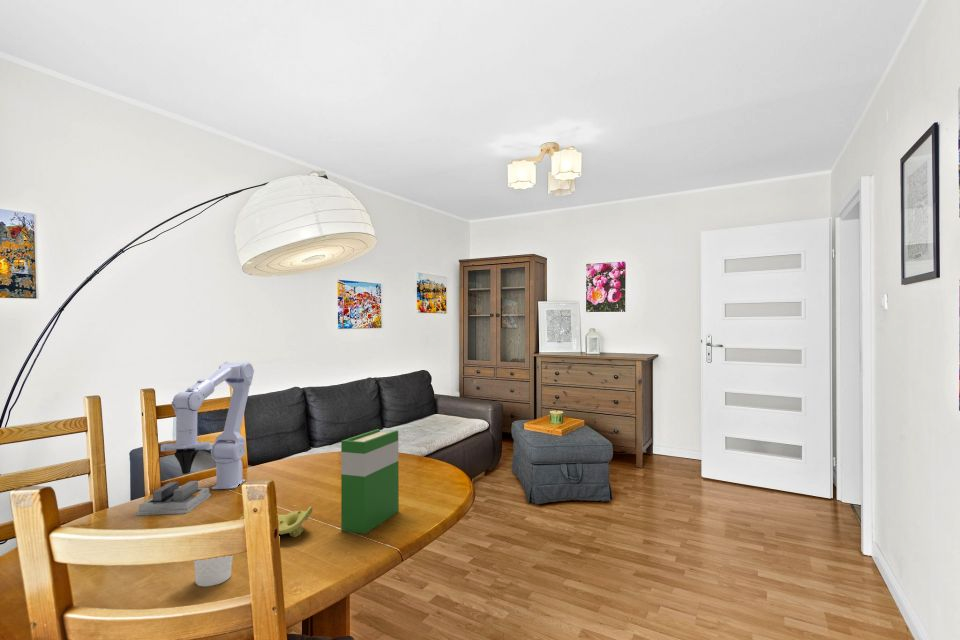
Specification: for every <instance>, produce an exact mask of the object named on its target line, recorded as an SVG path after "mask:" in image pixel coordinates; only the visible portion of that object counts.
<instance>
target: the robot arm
mask: <svg viewBox="0 0 960 640" xmlns="http://www.w3.org/2000/svg"><path fill="white" fill-rule="evenodd" d="M218 367H219V368H218V369H217V370H216V371H215V372H214V373H213V374H211V375H210V376H209V377H208V378H207V379H205V378H203V379H198V380H197V381H196V383H194V384H193V385H192V386H189V387H188V388H187V389H186V390H185V391H179V392H177V393H176V394H175V395H174V396H173V398H172V401H171V407H172V408H173V410H174V415H175V416H176V419H175V421H176V424H175V431H176V432H175V434H176V435H175V442H174V443H164V444H160V452H167V451H168V452H170V451H175V452H174V455H173V456H174V457H175V458H176V460H177V461H178V463H179V466H180V469H181V474H182V475H187V474H189V473H191V470H192V465H193V463H194V460H195V458H196V456H197V454H198V453H199V450H206V451H210V456H211V457H212V459H213V460H214V462H215V463H216V478H215V479H216V482H215V483H216V484H215V485H213V486H212V487H211V490H227V489H229V490H231V489H236V488H238V487H239V486H240V485H241V484H243V483H244V482H246V479H244V478H243V462H242V458H243V457H244V455H245V453H246V439H245V437H244V436H243V435H242V434H241V428H242V424H243V420H244V416H245V410H246V405H247V401H248V397H249V394H250V393H249V392H250V388H251V387H250V386H252V382H253V377H254V374H255V369H254V367H253V365H252V363H251V362H250V361H245V362H243V361H239V362H238V361H236V362H235V361H233V362H229V361H225V362H223V363H222V364H220V365H219V366H218ZM223 382H225V383H226V384H227V385H228V386H230V387H232V393H231V397H230V402H229V405H228V410H227V415H226V419H225V423H224V427H223V432H221V433H219V435H218V436H216V437H215V441H214V443H213V442H210V441H209V442H208V441H206V442H205V441H204V442H203V441H198V410H199V409H200V408H201V407H202V405H203V402H204V401H205V399H207V398H208V397H210V395H212V394H213V393H214V392H215V388H216V387H217V386H219V385H220V384H222V383H223ZM242 481H243V482H242ZM239 484H240V485H239ZM238 485H239V486H238Z"/></svg>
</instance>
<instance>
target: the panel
mask: <svg viewBox="0 0 960 640" xmlns="http://www.w3.org/2000/svg"><path fill="white" fill-rule="evenodd" d="M198 488H199V481H198V480H190V481H188V482H186V483H185V484H183V485H181V486H180V487H179V488H178V489H176V490H174V501H185V500H187V499H188V498H190V497H191V495H192V494H194V493H196V492H198Z"/></svg>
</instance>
